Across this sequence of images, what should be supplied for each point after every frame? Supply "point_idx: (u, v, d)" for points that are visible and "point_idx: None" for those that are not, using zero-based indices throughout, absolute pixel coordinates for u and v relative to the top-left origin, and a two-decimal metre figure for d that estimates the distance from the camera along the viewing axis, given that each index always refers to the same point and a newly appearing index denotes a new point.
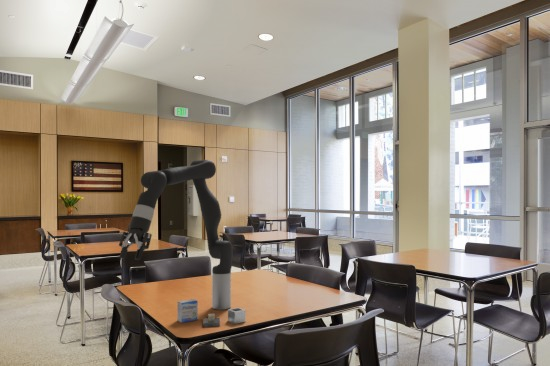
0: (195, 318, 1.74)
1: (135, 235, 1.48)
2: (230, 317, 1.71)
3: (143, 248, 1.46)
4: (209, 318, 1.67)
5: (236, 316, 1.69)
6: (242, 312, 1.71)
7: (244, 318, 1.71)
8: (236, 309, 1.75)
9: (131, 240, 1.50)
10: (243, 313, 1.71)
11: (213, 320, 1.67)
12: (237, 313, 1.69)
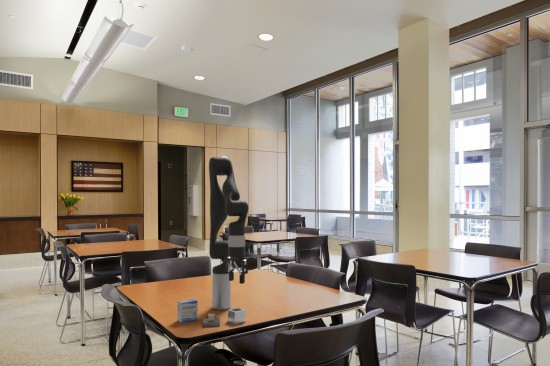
0: (195, 318, 1.74)
1: (235, 263, 1.71)
2: (230, 317, 1.71)
3: (244, 274, 1.68)
4: (209, 318, 1.67)
5: (236, 316, 1.69)
6: (242, 312, 1.71)
7: (244, 318, 1.71)
8: (236, 309, 1.75)
9: (233, 266, 1.73)
10: (243, 313, 1.71)
11: (213, 320, 1.67)
12: (237, 313, 1.69)
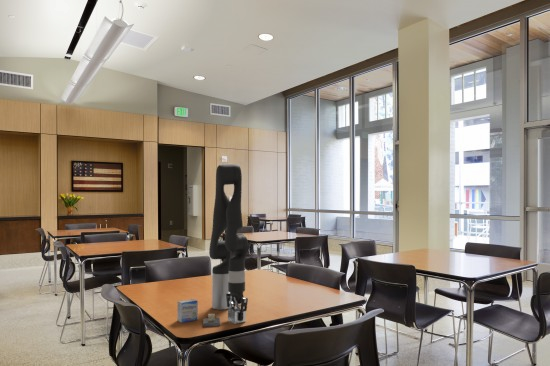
0: (195, 318, 1.74)
1: (235, 299, 1.70)
2: (230, 317, 1.71)
3: (242, 311, 1.68)
4: (209, 318, 1.67)
5: (236, 316, 1.69)
6: None
7: (244, 318, 1.71)
8: (236, 309, 1.75)
9: (233, 301, 1.72)
10: (243, 313, 1.71)
11: (213, 320, 1.67)
12: (237, 313, 1.69)
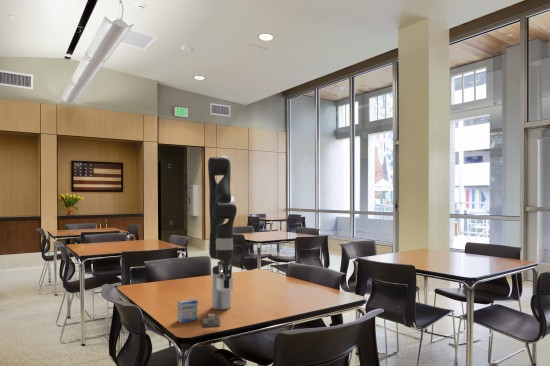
0: (195, 318, 1.74)
1: (221, 266, 1.69)
2: (217, 284, 1.70)
3: (227, 279, 1.66)
4: (209, 318, 1.67)
5: (222, 283, 1.68)
6: (229, 280, 1.69)
7: (231, 286, 1.69)
8: None
9: (221, 269, 1.72)
10: (230, 281, 1.69)
11: (213, 320, 1.67)
12: (223, 280, 1.68)
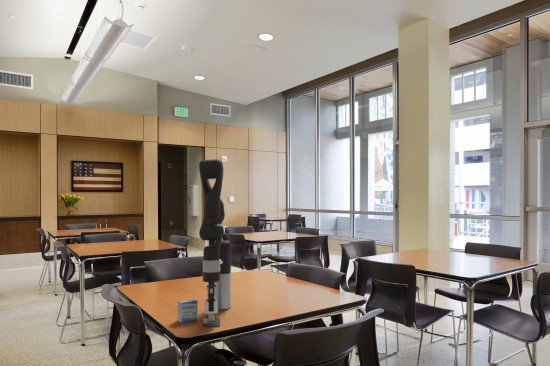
0: (195, 318, 1.74)
1: None
2: None
3: (210, 302, 1.64)
4: (209, 318, 1.67)
5: (206, 306, 1.66)
6: (214, 303, 1.66)
7: (216, 309, 1.66)
8: None
9: None
10: (215, 304, 1.66)
11: (213, 320, 1.67)
12: (207, 303, 1.66)
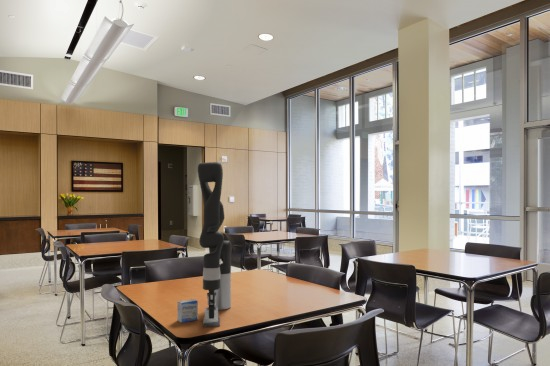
0: (195, 318, 1.74)
1: (207, 296, 1.67)
2: None
3: (210, 309, 1.62)
4: None
5: (206, 315, 1.65)
6: (214, 312, 1.66)
7: (216, 318, 1.66)
8: None
9: None
10: (215, 313, 1.66)
11: None
12: (208, 312, 1.66)
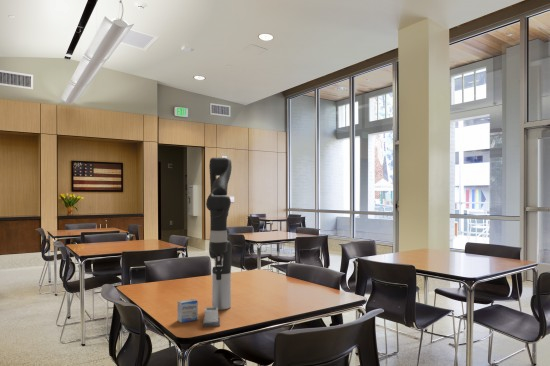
0: (195, 318, 1.74)
1: (214, 258, 1.69)
2: None
3: (218, 270, 1.64)
4: None
5: (206, 315, 1.65)
6: (214, 312, 1.66)
7: (216, 318, 1.66)
8: (214, 308, 1.71)
9: None
10: (215, 313, 1.66)
11: None
12: (208, 312, 1.66)
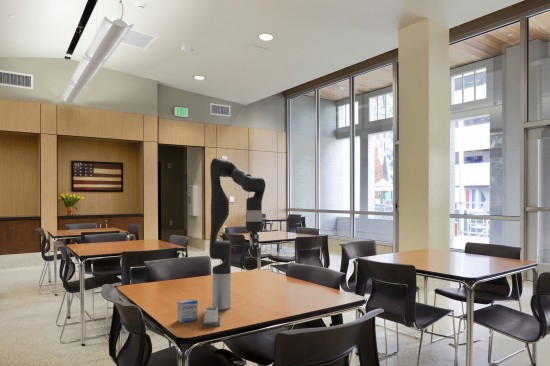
0: (195, 318, 1.74)
1: (250, 237, 1.75)
2: None
3: (254, 248, 1.71)
4: None
5: (206, 315, 1.65)
6: (214, 312, 1.66)
7: (216, 318, 1.66)
8: (214, 308, 1.71)
9: None
10: (215, 313, 1.66)
11: None
12: (208, 312, 1.66)
